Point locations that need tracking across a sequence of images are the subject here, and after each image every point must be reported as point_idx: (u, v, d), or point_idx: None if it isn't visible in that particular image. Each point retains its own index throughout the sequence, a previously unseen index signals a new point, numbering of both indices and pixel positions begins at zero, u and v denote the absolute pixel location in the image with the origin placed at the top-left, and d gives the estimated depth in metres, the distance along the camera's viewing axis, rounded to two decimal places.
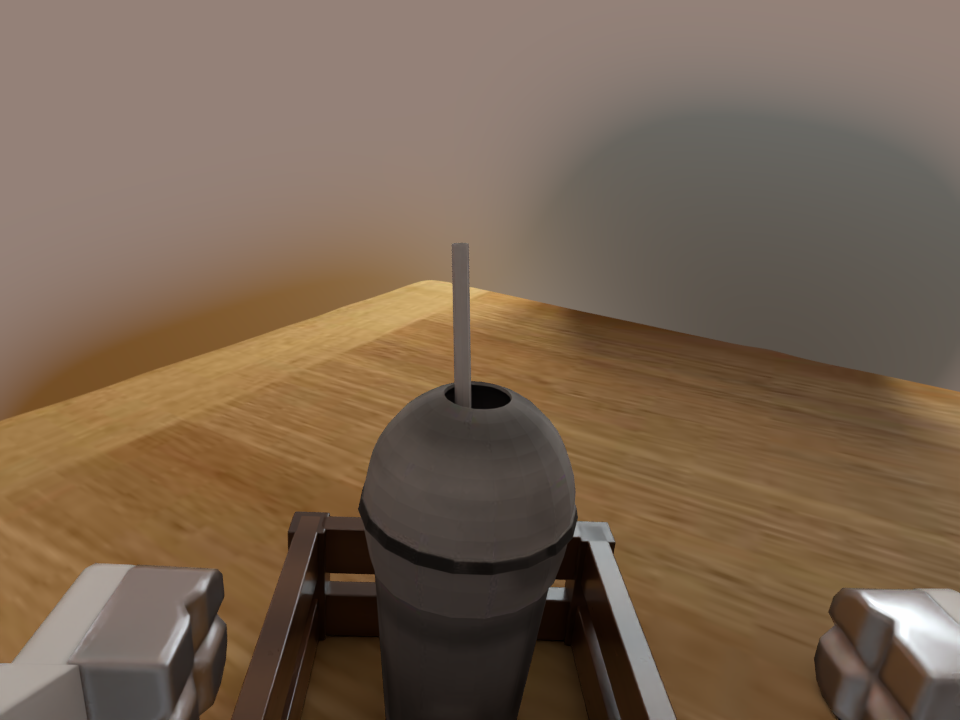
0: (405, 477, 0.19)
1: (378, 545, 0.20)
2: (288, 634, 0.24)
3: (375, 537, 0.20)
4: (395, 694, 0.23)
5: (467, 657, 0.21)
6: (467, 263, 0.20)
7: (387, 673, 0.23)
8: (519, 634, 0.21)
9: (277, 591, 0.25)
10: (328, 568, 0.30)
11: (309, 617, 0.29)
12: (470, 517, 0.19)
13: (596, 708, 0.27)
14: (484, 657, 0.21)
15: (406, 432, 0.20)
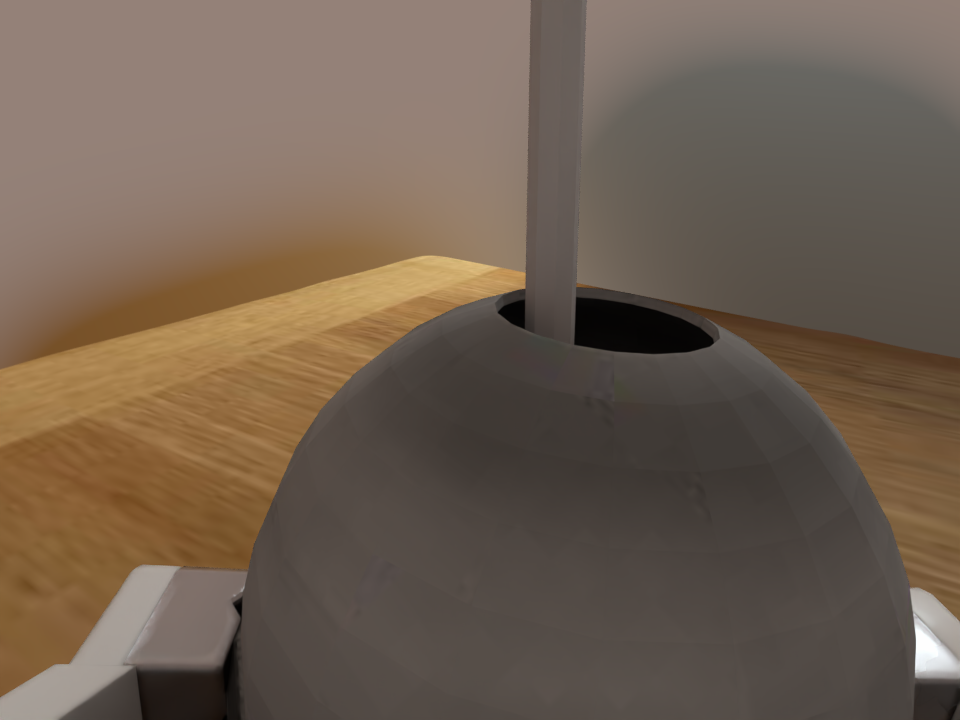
0: (359, 612, 0.05)
1: None
2: None
3: None
4: None
5: None
6: None
7: None
8: None
9: None
10: None
11: None
12: None
13: None
14: None
15: (368, 436, 0.06)
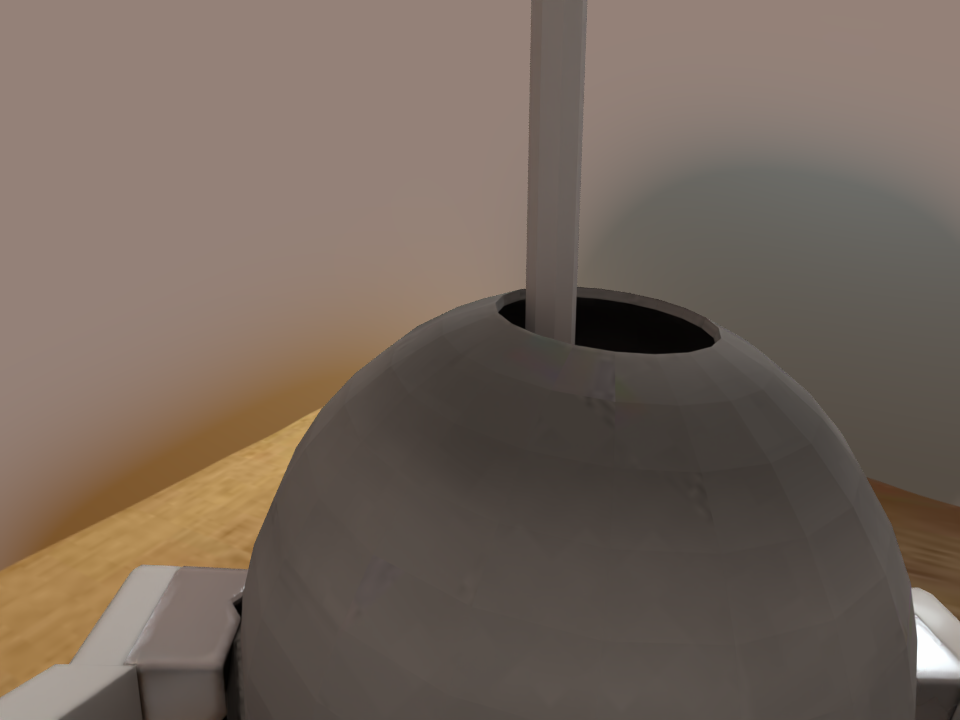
0: (358, 613, 0.05)
1: None
2: None
3: None
4: None
5: None
6: None
7: None
8: None
9: None
10: None
11: None
12: None
13: None
14: None
15: (368, 436, 0.06)
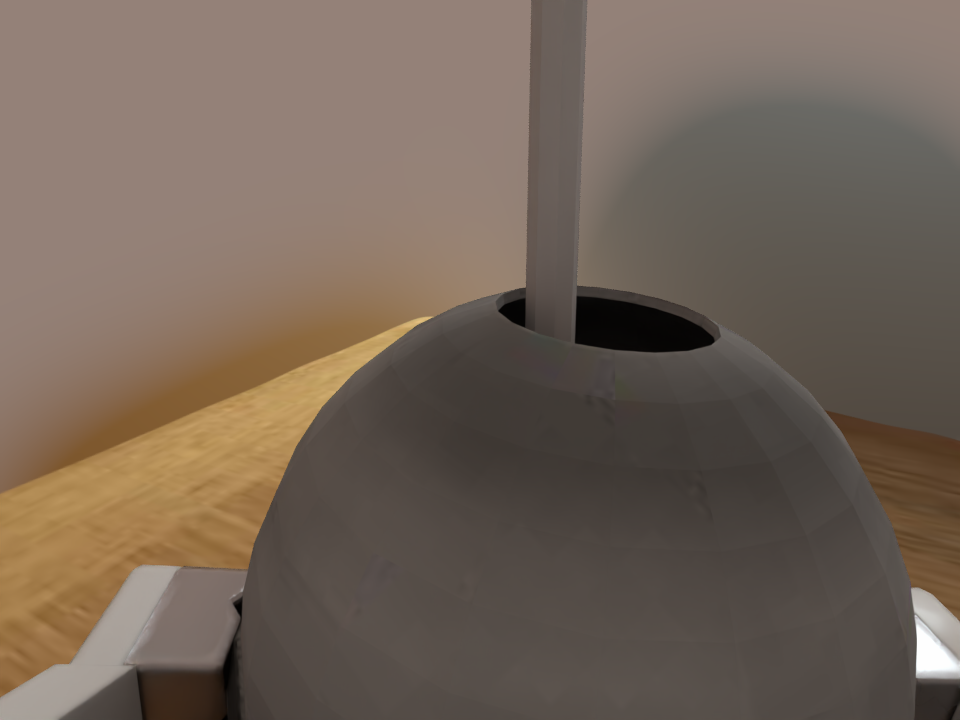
0: (358, 611, 0.05)
1: None
2: None
3: None
4: None
5: None
6: None
7: None
8: None
9: None
10: None
11: None
12: None
13: None
14: None
15: (368, 435, 0.06)
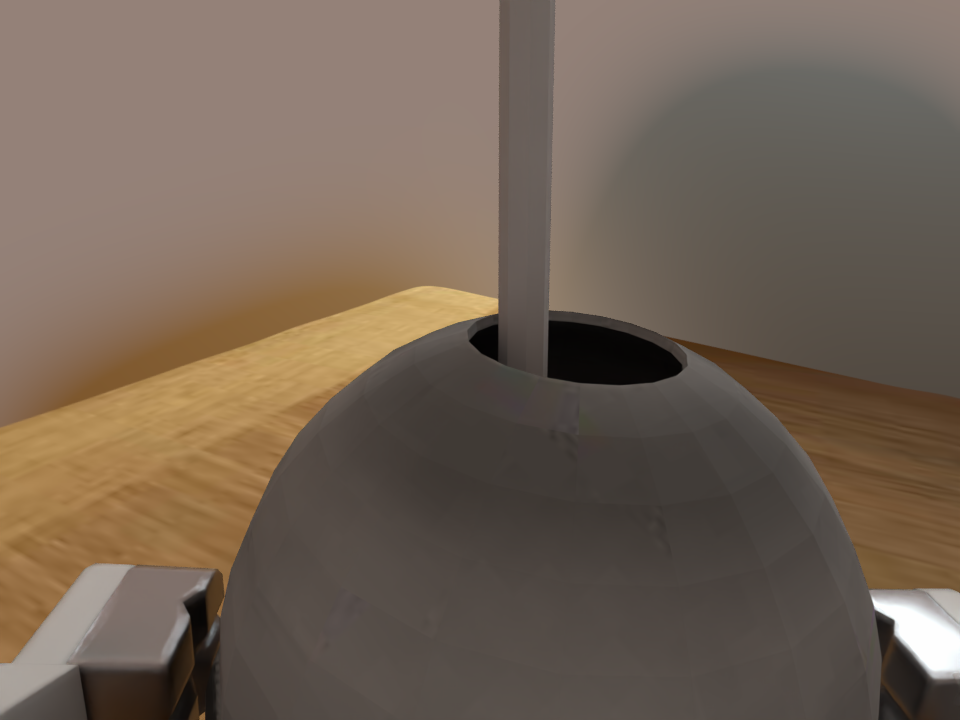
0: (328, 644, 0.05)
1: None
2: None
3: None
4: None
5: None
6: None
7: None
8: None
9: None
10: None
11: None
12: None
13: None
14: None
15: (339, 467, 0.06)
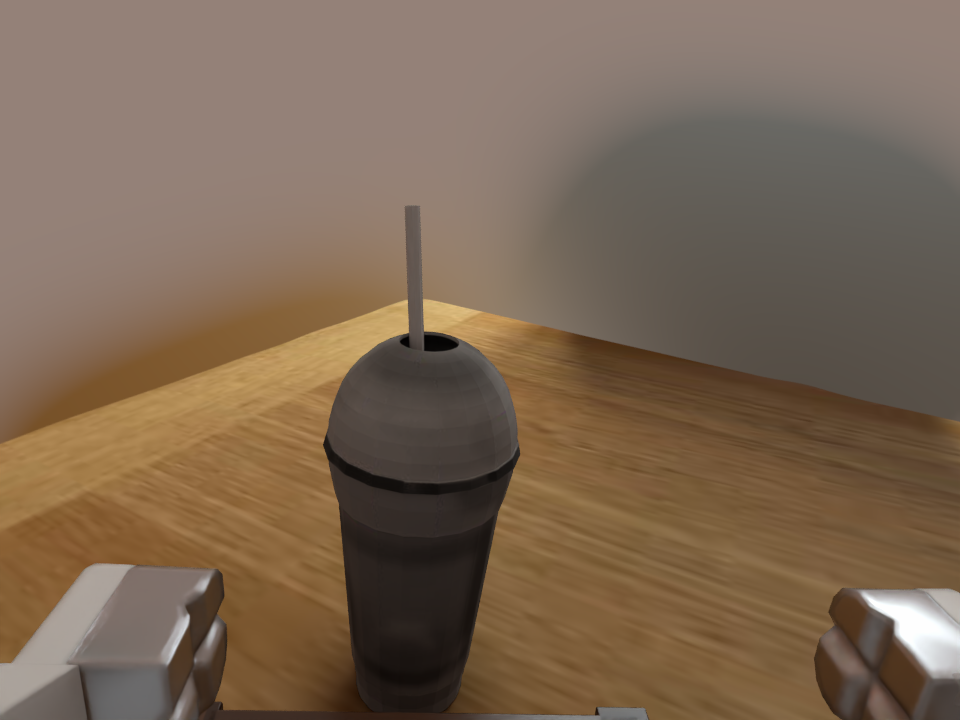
0: (362, 410, 0.22)
1: (339, 474, 0.23)
2: None
3: (336, 465, 0.23)
4: (357, 615, 0.26)
5: (419, 575, 0.23)
6: (418, 223, 0.23)
7: (350, 597, 0.26)
8: (466, 556, 0.24)
9: None
10: None
11: None
12: (418, 442, 0.21)
13: None
14: (434, 575, 0.24)
15: (364, 372, 0.23)
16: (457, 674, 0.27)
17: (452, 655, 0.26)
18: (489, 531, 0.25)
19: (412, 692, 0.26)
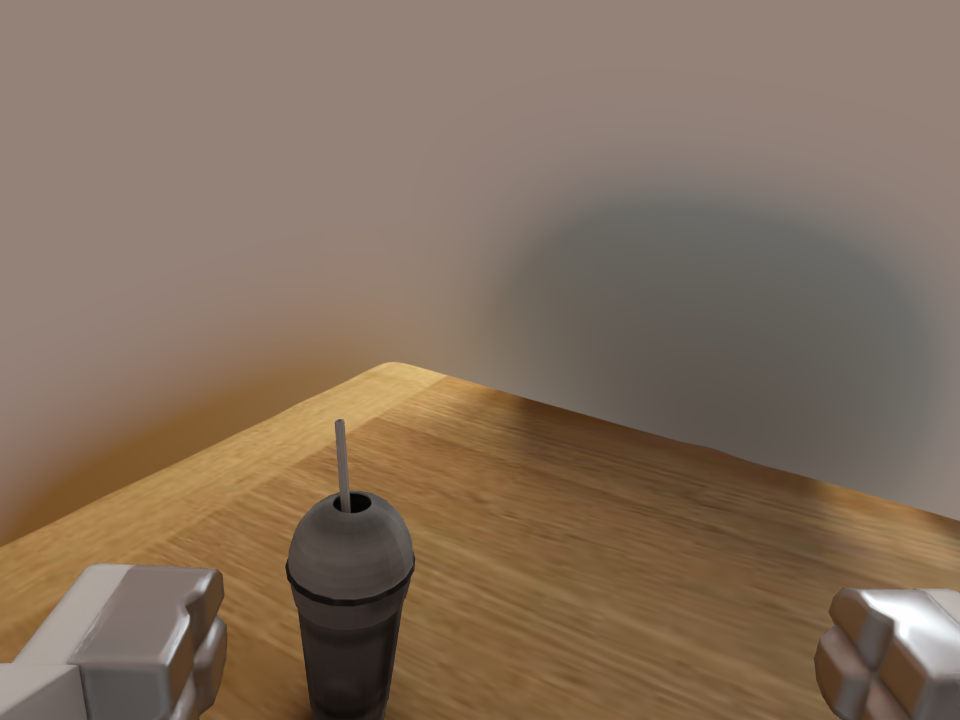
0: (307, 552, 0.35)
1: (294, 588, 0.36)
2: None
3: (292, 584, 0.36)
4: (310, 674, 0.39)
5: (346, 651, 0.37)
6: (343, 431, 0.36)
7: (305, 662, 0.39)
8: (377, 638, 0.37)
9: None
10: None
11: None
12: (340, 575, 0.35)
13: None
14: (356, 651, 0.37)
15: (309, 526, 0.36)
16: (379, 711, 0.40)
17: (373, 699, 0.39)
18: (394, 620, 0.38)
19: None
